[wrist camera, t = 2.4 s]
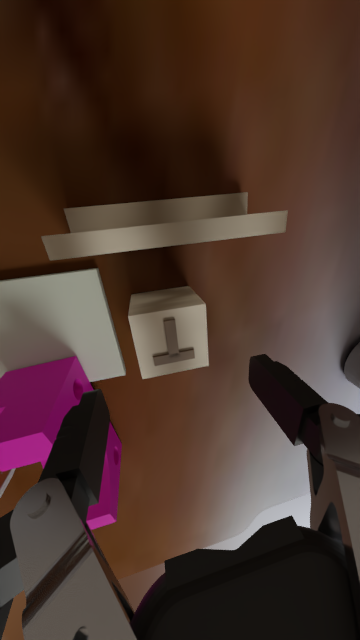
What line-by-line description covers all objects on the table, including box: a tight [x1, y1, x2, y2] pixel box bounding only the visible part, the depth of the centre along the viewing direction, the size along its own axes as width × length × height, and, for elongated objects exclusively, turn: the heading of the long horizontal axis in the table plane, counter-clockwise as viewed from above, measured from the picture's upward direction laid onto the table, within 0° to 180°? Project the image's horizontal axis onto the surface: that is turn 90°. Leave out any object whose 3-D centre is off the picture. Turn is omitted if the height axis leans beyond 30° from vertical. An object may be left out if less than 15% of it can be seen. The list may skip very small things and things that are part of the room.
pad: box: [0, 268, 126, 382], centre depth 18 cm, size 12×11×1 cm
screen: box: [41, 192, 288, 261], centre depth 13 cm, size 14×3×6 cm, turn 96°
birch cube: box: [128, 286, 209, 379], centre depth 17 cm, size 6×6×6 cm
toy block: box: [0, 356, 122, 530], centre depth 18 cm, size 15×6×8 cm, turn 9°
